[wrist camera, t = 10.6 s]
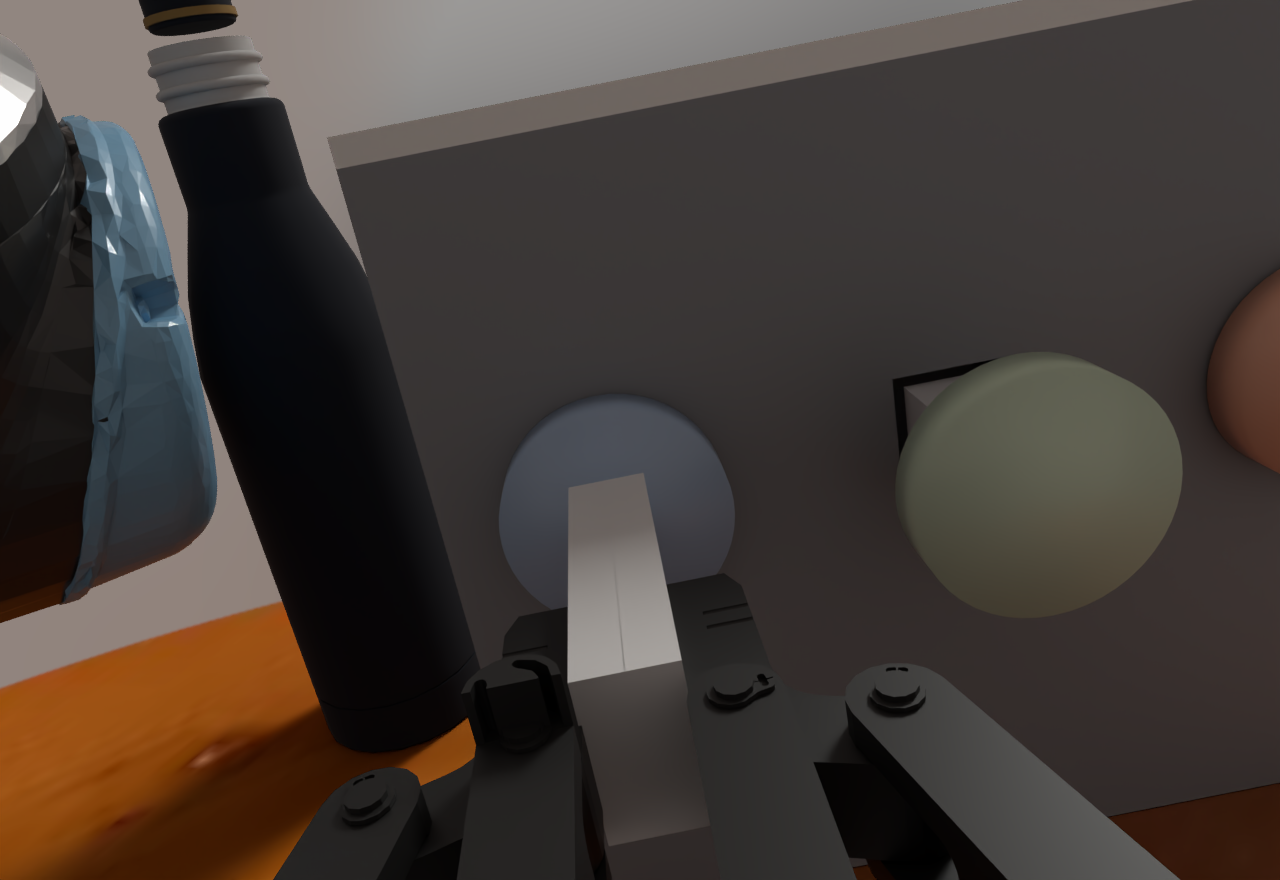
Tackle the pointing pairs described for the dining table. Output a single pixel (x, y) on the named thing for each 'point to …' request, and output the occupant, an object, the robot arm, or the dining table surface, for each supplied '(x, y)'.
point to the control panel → (873, 340)
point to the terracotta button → (1249, 376)
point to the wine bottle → (308, 399)
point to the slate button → (606, 449)
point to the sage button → (1035, 482)
